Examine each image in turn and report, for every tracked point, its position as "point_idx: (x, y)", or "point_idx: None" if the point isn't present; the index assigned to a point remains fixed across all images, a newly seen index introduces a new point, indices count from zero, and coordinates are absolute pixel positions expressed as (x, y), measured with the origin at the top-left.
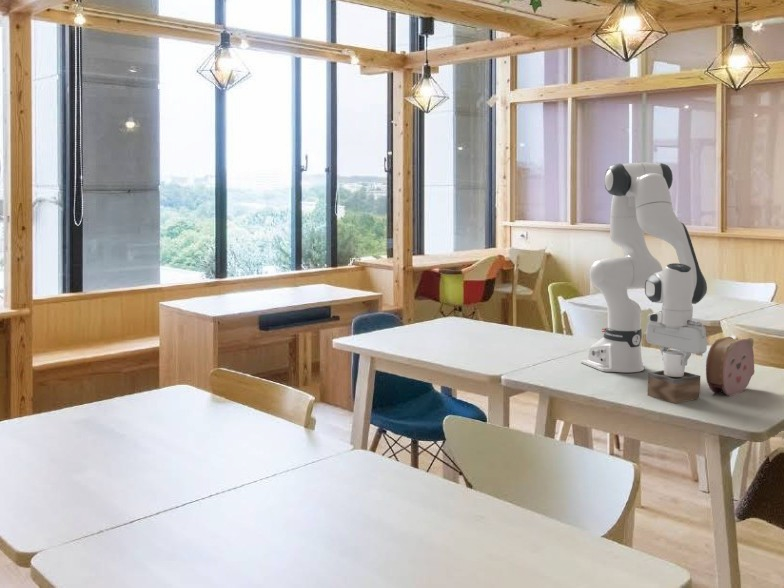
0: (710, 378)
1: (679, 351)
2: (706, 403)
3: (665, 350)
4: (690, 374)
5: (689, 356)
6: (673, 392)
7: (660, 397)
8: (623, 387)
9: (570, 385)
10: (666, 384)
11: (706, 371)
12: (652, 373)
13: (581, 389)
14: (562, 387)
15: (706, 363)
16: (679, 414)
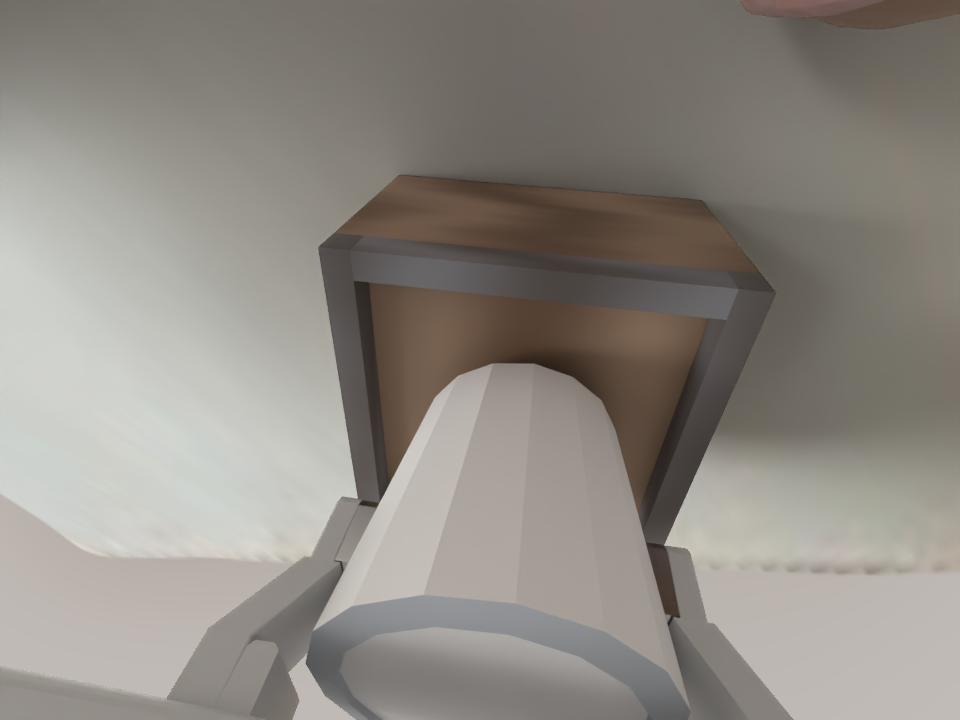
0: (833, 16)
1: (481, 639)
2: (812, 282)
3: (278, 640)
4: (630, 309)
5: (767, 699)
6: None
7: None
8: (206, 364)
9: (114, 498)
10: None
11: (785, 14)
12: None
13: (192, 514)
14: (142, 535)
15: (849, 6)
16: (754, 551)
